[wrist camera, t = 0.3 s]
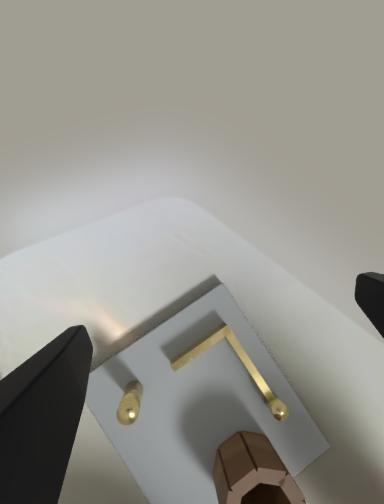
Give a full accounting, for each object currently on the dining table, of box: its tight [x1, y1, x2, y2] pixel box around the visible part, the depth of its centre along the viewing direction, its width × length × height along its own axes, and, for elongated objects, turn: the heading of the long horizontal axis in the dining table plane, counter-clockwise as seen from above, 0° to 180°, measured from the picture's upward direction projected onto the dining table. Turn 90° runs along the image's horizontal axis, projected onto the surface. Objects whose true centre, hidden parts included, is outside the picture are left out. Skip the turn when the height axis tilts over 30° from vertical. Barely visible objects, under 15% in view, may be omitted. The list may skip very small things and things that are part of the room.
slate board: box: [85, 283, 331, 504], centre depth 21 cm, size 16×14×1 cm
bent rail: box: [170, 322, 289, 421], centre depth 20 cm, size 8×6×2 cm
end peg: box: [116, 381, 143, 425], centre depth 19 cm, size 1×1×4 cm
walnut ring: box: [212, 430, 306, 504], centre depth 19 cm, size 5×5×4 cm
